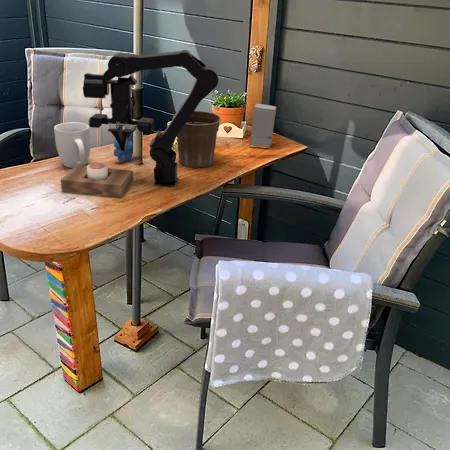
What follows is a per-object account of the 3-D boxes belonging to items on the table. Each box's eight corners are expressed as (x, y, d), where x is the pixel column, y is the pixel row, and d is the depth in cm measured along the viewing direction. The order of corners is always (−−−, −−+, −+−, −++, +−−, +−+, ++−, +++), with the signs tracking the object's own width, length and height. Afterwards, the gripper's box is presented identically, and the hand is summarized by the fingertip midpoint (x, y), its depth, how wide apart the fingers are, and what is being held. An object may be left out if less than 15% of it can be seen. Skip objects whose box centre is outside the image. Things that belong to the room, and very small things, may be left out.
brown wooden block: (133, 182, 153) (132, 170, 152) (121, 198, 143) (120, 185, 141) (77, 177, 155) (76, 165, 153) (61, 192, 144) (60, 179, 142)
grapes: (132, 153, 177) (131, 120, 171) (145, 158, 173) (144, 125, 167) (106, 161, 169) (104, 127, 163) (119, 166, 165) (117, 131, 159)
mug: (101, 171, 160) (98, 132, 154) (67, 177, 154) (63, 137, 148) (85, 157, 171) (82, 120, 165) (53, 162, 165) (49, 124, 159)
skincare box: (249, 147, 190) (252, 107, 182) (251, 142, 196) (254, 102, 188) (271, 150, 189) (275, 109, 181) (272, 144, 195) (276, 104, 187)
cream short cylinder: (111, 182, 151) (110, 162, 148) (104, 189, 146) (103, 170, 143) (92, 180, 151) (90, 161, 148) (85, 187, 146) (83, 168, 143)
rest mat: (138, 177, 157) (138, 176, 157) (132, 185, 151) (132, 184, 151) (117, 175, 158) (117, 174, 158) (110, 183, 152) (110, 182, 152)
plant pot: (209, 173, 163) (211, 126, 156) (165, 166, 168) (165, 119, 160) (224, 158, 177) (227, 114, 170) (183, 151, 181) (184, 108, 174)
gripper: (159, 95, 149) (159, 144, 156) (99, 90, 150) (102, 139, 158) (149, 104, 139) (150, 156, 146) (86, 99, 141) (90, 150, 148)
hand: (123, 150), depth 150 cm, fingers closed
